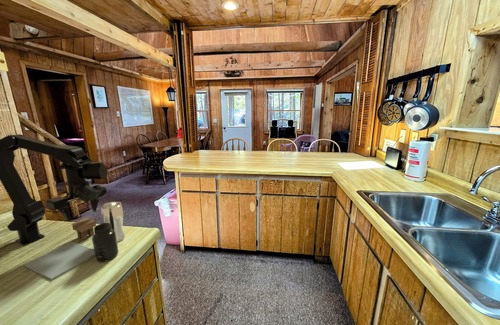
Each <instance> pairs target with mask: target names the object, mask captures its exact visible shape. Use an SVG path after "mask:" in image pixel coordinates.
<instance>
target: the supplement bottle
mask: <svg viewBox="0 0 500 325" xmlns="http://www.w3.org/2000/svg"><path fill="white" fill-rule="evenodd" d="M93 230H94V235H93V236H91V241H92V242H91V243H92V245H93V246H92V247H93V250H94V253H95V256H94V257H95V260H96V261H97V262H100V263H103V262H104V263H105V262H108V261H110V260H113V259H114V258H116V257H117V256H118V254H119V248H118V242H117V239H116V233H115V231H114V230H112V228H111V224H110V223H103V222H102V223H99V224H96V226H95V227H93Z"/></svg>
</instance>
